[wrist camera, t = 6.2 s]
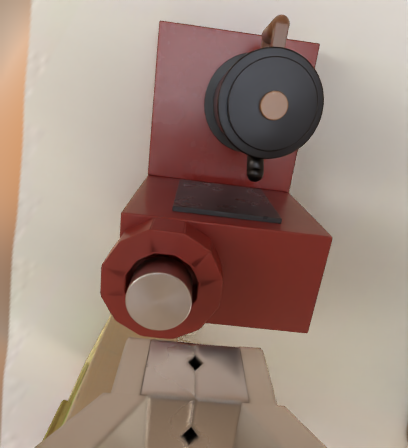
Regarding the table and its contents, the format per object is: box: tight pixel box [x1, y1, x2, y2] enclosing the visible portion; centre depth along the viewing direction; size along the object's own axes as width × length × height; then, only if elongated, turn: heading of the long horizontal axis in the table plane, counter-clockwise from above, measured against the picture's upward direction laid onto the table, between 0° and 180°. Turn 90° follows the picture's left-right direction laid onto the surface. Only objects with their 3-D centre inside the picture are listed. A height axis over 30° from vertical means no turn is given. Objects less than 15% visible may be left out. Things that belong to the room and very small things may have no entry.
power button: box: [125, 257, 193, 330], centre depth 17 cm, size 3×3×2 cm
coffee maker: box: [100, 175, 332, 339], centre depth 24 cm, size 12×6×14 cm, turn 83°
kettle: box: [213, 15, 324, 182], centre depth 21 cm, size 6×9×8 cm, turn 173°
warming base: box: [148, 21, 320, 224], centre depth 23 cm, size 11×10×11 cm
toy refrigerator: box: [43, 314, 177, 440], centre depth 25 cm, size 8×7×21 cm
